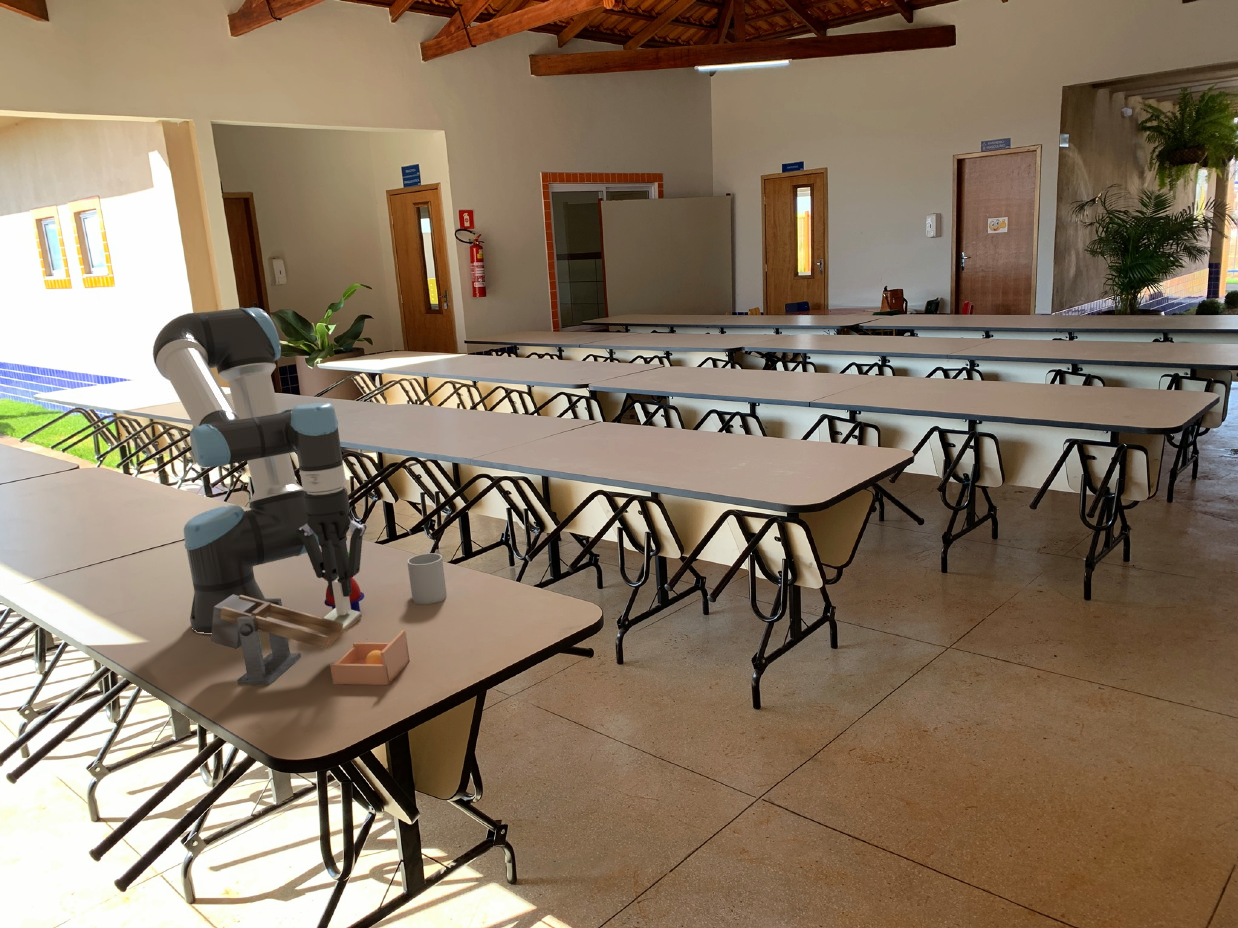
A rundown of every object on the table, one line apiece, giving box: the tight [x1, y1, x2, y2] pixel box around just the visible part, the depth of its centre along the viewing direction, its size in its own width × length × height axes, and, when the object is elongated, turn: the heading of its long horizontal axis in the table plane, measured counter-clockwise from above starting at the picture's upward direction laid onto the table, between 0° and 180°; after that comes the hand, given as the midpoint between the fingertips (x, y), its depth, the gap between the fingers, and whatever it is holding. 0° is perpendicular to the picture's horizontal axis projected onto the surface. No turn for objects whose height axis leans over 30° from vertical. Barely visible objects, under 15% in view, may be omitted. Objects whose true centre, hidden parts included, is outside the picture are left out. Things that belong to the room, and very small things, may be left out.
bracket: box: [236, 598, 302, 686], centre depth 163 cm, size 6×11×12 cm, turn 170°
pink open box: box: [330, 629, 410, 686], centre depth 160 cm, size 10×9×6 cm
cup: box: [407, 552, 447, 606], centre depth 194 cm, size 7×10×9 cm
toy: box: [312, 551, 365, 612], centre depth 186 cm, size 9×9×15 cm
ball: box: [366, 650, 382, 664], centre depth 160 cm, size 4×4×4 cm
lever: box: [210, 594, 363, 650], centre depth 166 cm, size 22×14×8 cm, turn 80°
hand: (344, 612), depth 168 cm, fingers closed
